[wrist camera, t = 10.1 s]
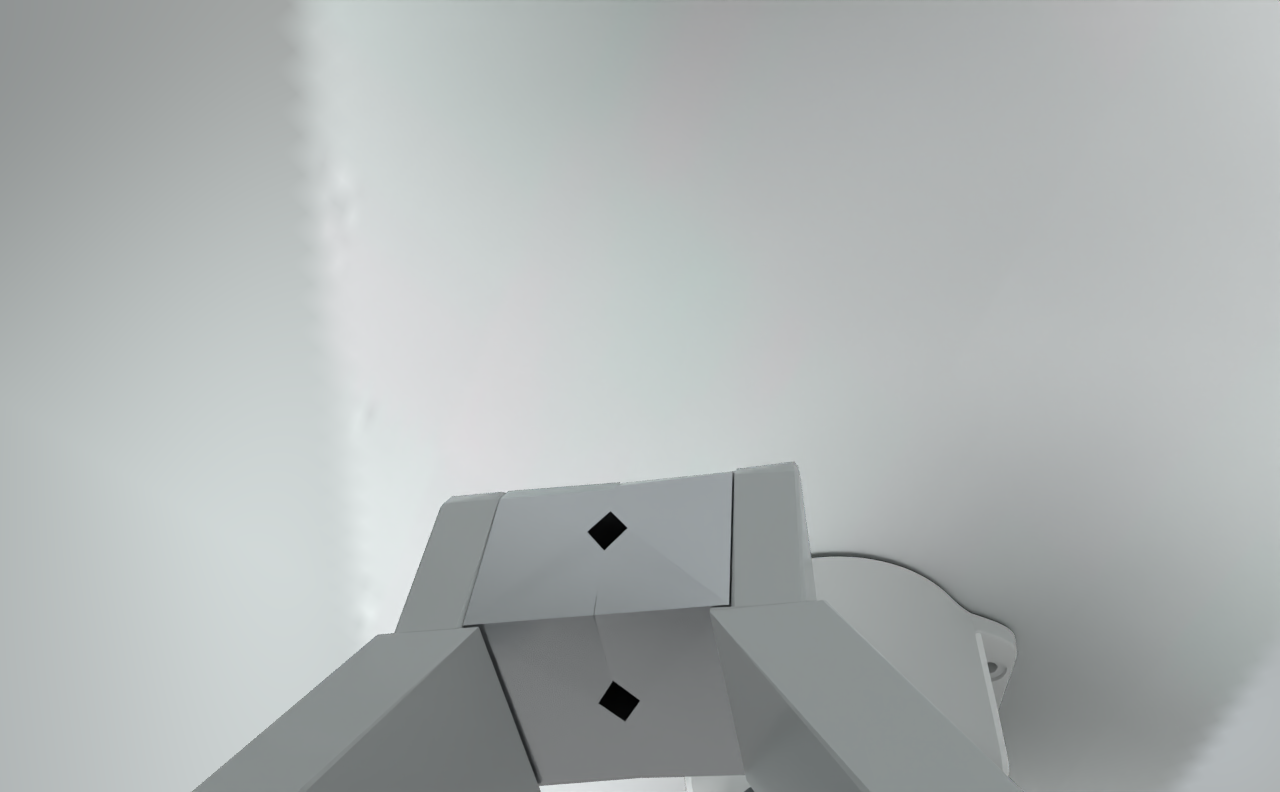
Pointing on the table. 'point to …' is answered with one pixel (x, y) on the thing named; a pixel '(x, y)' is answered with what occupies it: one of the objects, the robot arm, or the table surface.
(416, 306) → the table surface
